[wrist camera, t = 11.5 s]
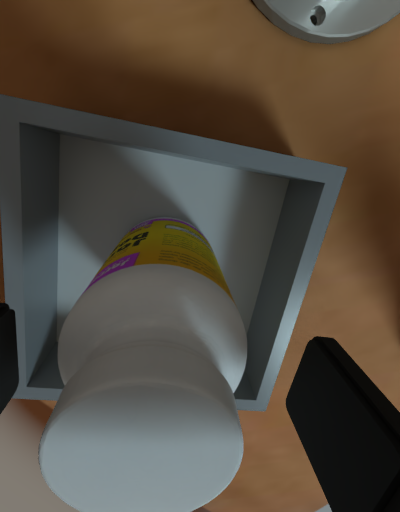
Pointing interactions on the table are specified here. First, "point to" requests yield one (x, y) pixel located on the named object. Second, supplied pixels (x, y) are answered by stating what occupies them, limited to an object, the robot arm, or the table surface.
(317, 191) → the box
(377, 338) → the table surface
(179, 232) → the supplement bottle
